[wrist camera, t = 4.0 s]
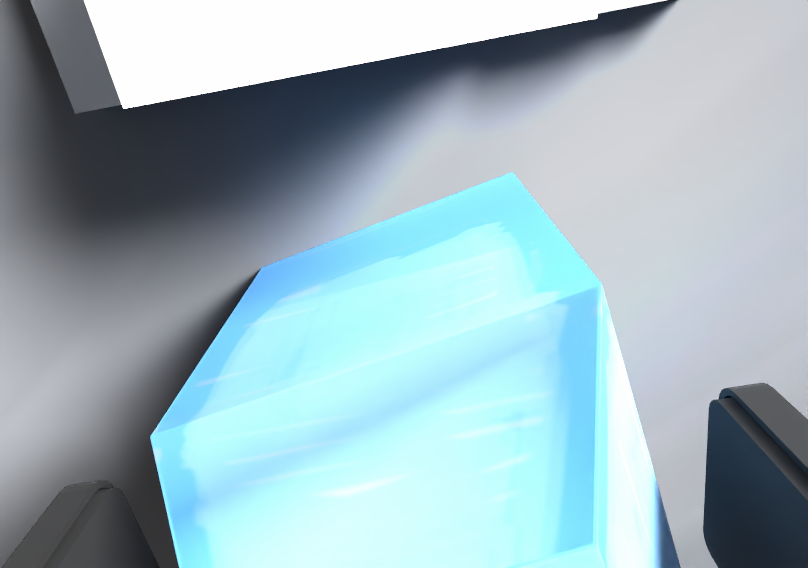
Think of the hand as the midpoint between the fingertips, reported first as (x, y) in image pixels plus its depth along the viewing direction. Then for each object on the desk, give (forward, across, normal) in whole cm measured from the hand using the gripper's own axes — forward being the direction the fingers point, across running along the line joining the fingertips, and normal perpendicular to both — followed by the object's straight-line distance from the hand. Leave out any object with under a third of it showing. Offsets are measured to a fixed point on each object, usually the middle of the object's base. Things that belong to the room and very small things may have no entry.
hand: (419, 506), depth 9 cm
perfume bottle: (+6, 0, 0) cm, 6 cm away
